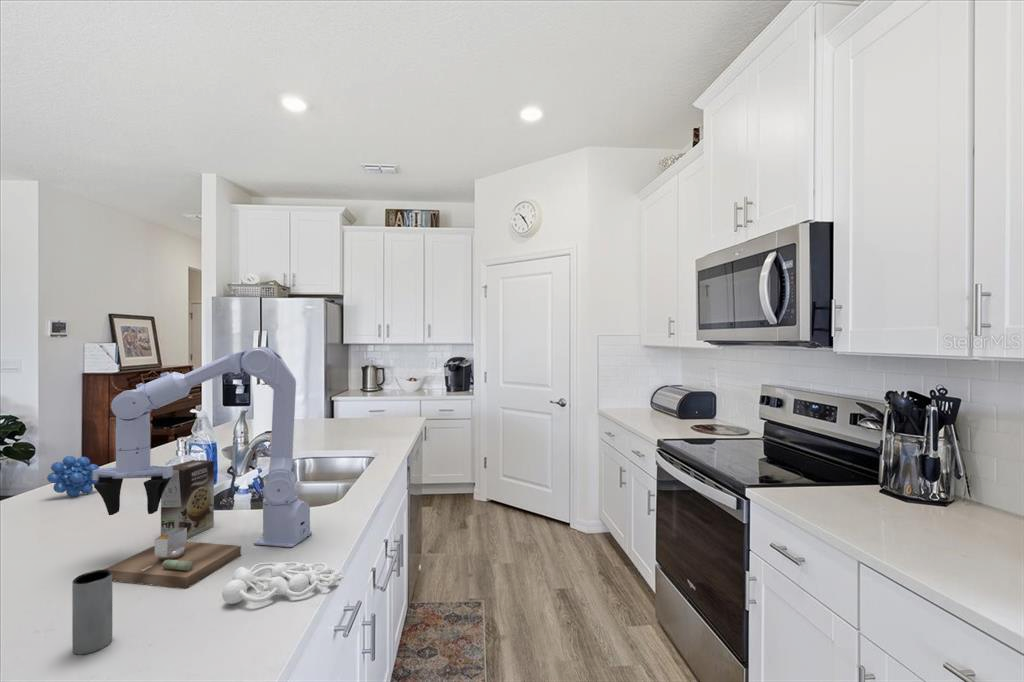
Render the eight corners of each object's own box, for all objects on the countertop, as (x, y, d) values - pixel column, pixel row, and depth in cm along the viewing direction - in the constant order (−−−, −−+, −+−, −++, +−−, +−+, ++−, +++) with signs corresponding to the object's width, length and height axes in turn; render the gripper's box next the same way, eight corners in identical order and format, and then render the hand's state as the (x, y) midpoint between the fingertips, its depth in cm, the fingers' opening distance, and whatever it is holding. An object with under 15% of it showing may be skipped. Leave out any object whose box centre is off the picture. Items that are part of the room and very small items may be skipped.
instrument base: (240, 555, 104) (240, 538, 104) (186, 588, 90) (186, 568, 90) (166, 549, 107) (166, 532, 107) (103, 580, 93) (103, 561, 93)
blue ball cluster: (49, 504, 135) (49, 461, 135) (45, 499, 140) (45, 457, 140) (103, 494, 144) (103, 453, 144) (98, 490, 149) (98, 450, 149)
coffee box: (183, 541, 111) (183, 469, 111) (159, 538, 112) (159, 468, 112) (215, 526, 120) (215, 460, 120) (192, 524, 121) (192, 458, 121)
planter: (65, 650, 72) (65, 580, 72) (100, 633, 76) (100, 567, 76) (84, 658, 70) (84, 586, 70) (119, 639, 75) (119, 572, 75)
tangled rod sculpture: (345, 569, 101) (345, 549, 101) (340, 599, 87) (341, 575, 87) (239, 579, 95) (240, 557, 96) (217, 612, 82) (218, 586, 82)
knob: (170, 548, 102) (170, 525, 102) (191, 548, 102) (191, 525, 102) (149, 562, 96) (149, 537, 96) (172, 561, 96) (172, 537, 96)
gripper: (80, 452, 98) (80, 521, 98) (158, 451, 99) (158, 518, 99) (106, 445, 105) (106, 508, 105) (178, 443, 106) (178, 506, 106)
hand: (133, 513), depth 102 cm, fingers open, 7 cm apart
